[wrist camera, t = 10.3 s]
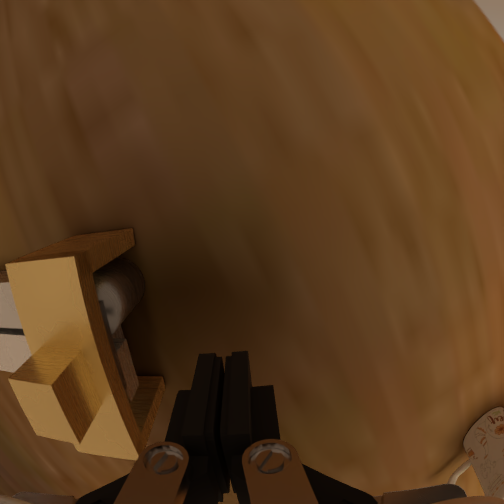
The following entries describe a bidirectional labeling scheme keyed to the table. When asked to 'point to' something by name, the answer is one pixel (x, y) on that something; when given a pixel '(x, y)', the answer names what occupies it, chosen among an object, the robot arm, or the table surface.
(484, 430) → the mug
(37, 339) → the collar
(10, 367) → the tongs moving leg
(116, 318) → the strip
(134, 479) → the robot arm
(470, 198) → the table surface
